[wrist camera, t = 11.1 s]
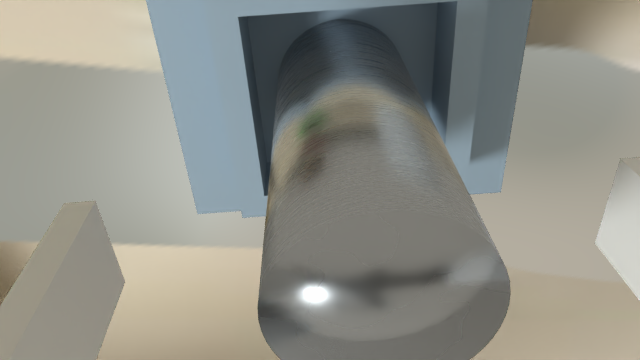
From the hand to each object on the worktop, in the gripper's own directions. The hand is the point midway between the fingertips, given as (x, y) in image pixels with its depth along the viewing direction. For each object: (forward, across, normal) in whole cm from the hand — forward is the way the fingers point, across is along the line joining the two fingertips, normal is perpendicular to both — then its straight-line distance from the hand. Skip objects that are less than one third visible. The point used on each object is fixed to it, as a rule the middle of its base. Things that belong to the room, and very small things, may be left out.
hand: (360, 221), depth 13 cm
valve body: (+12, +1, -2) cm, 12 cm away
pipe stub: (+9, 0, 0) cm, 9 cm away
